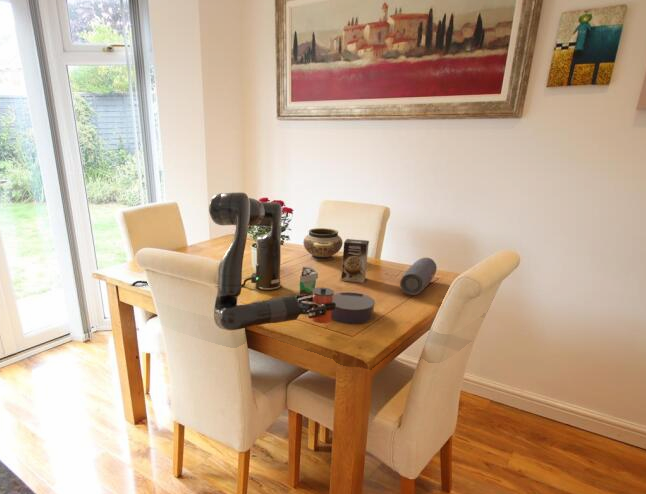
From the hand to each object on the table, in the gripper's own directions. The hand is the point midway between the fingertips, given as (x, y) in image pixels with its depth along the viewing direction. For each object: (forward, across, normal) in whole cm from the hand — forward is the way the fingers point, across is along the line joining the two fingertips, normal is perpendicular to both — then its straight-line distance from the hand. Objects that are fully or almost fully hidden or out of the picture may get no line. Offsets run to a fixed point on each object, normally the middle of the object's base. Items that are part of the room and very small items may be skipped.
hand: (329, 301), depth 143 cm
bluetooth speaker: (+50, +18, +9) cm, 53 cm away
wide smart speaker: (+13, +7, +9) cm, 17 cm away
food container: (+7, +27, +9) cm, 29 cm away
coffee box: (+33, +37, +9) cm, 50 cm away
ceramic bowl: (+37, +69, +9) cm, 79 cm away
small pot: (-2, 0, +6) cm, 6 cm away
